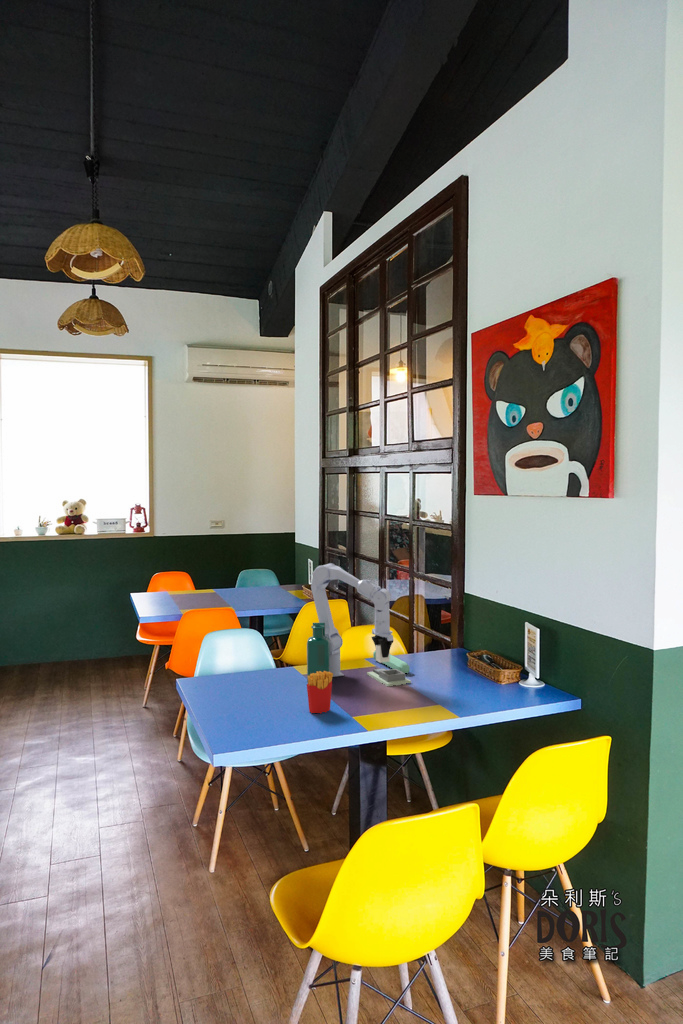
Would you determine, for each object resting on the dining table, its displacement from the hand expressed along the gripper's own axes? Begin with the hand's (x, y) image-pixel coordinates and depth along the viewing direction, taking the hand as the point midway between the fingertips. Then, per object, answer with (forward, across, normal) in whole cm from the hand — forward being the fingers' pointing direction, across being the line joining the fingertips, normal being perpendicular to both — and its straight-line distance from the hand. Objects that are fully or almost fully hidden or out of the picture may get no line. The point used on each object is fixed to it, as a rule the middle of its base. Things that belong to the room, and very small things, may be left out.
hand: (382, 655), depth 264 cm
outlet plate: (+10, +1, -3) cm, 10 cm away
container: (+10, +16, -12) cm, 22 cm away
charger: (+2, 0, 0) cm, 2 cm away
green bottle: (+10, +9, +23) cm, 27 cm away
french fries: (+10, -24, +35) cm, 44 cm away
